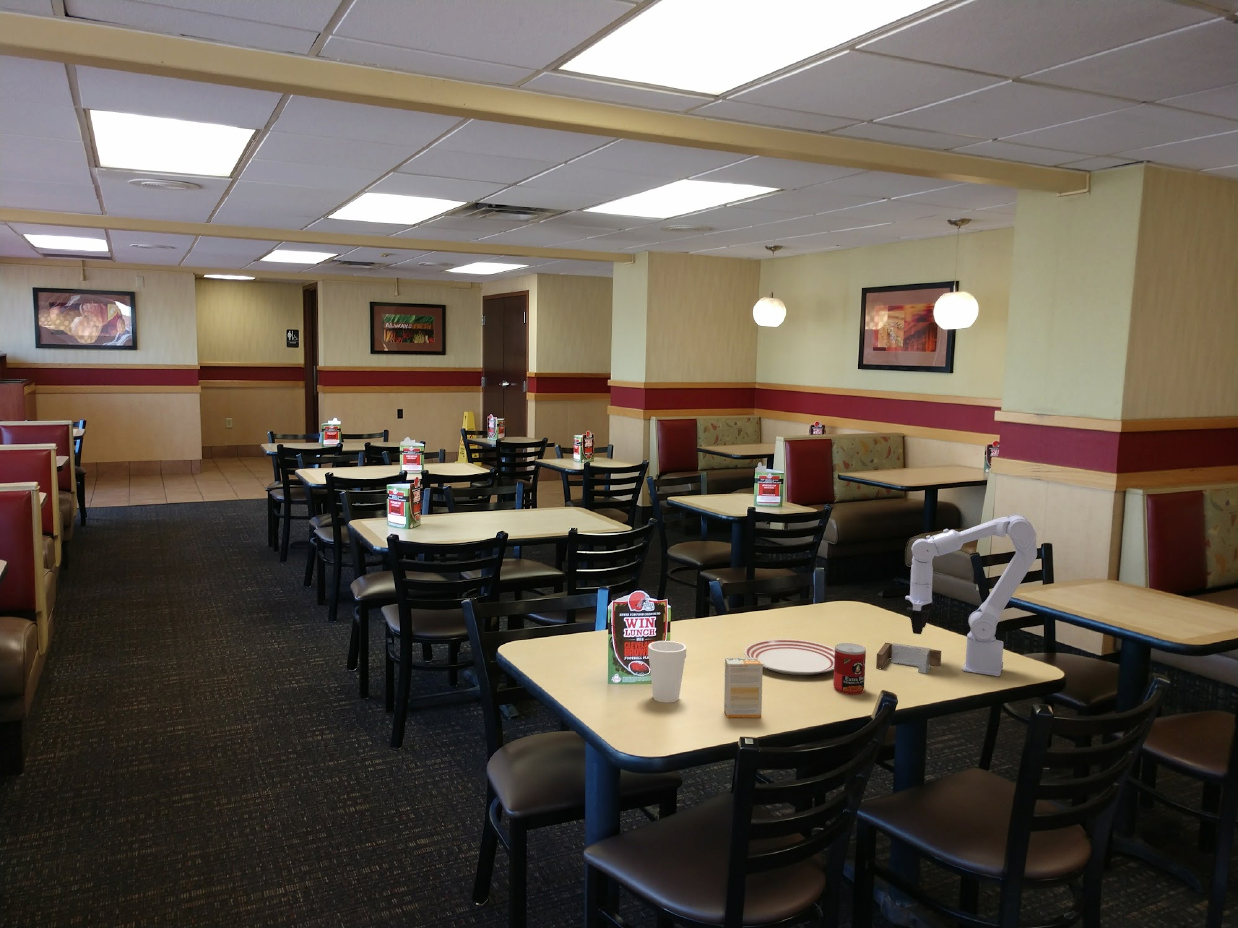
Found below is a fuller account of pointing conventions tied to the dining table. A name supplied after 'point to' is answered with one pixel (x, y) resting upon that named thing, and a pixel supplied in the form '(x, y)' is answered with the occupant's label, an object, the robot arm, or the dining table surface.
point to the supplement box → (743, 687)
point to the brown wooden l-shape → (887, 653)
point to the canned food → (849, 668)
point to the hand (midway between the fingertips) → (919, 630)
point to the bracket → (911, 656)
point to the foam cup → (666, 669)
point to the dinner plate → (793, 656)
